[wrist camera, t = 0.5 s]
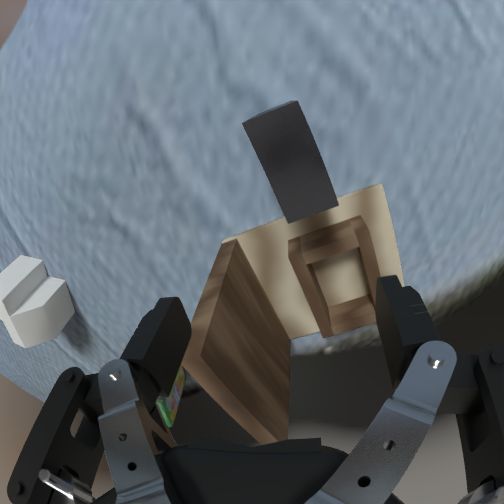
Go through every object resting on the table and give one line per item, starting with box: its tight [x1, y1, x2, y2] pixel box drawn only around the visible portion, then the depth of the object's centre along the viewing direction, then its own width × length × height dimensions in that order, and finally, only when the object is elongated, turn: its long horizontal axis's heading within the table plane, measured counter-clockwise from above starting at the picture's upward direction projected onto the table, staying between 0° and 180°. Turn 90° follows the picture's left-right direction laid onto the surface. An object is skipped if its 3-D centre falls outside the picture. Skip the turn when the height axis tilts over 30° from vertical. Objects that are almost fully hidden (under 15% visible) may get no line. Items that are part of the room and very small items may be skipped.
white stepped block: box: [0, 255, 75, 348], centre depth 40 cm, size 11×11×12 cm
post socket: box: [181, 183, 404, 445], centre depth 29 cm, size 20×18×19 cm
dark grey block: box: [242, 101, 339, 224], centre depth 25 cm, size 4×8×12 cm, turn 25°
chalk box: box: [156, 364, 186, 427], centre depth 44 cm, size 9×9×15 cm
